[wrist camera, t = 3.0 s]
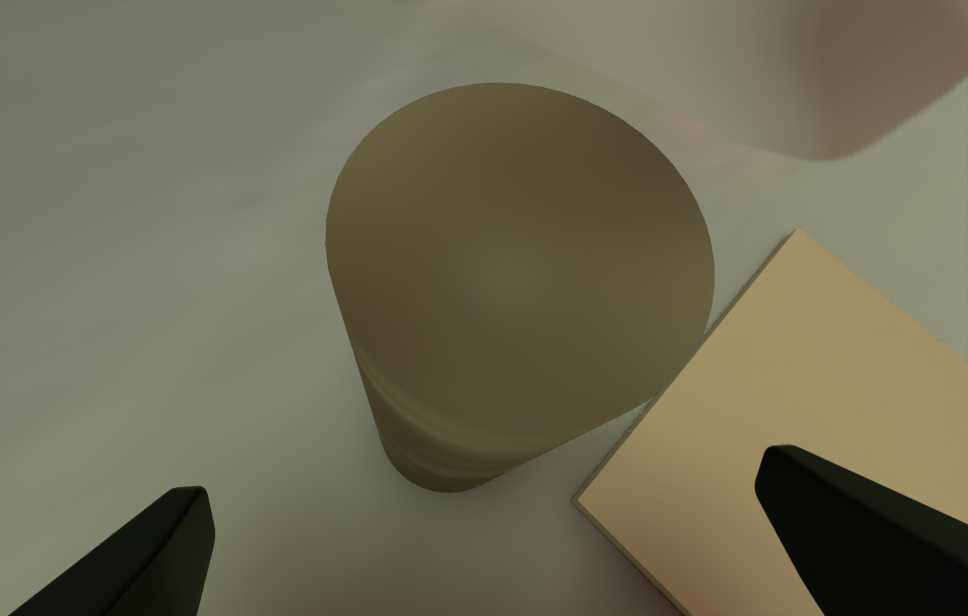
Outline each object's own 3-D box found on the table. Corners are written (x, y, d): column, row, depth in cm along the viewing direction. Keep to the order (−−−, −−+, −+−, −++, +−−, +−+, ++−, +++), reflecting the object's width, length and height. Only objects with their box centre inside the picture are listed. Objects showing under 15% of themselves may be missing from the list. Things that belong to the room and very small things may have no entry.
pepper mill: (545, 419, 19) (781, 246, 7) (448, 525, 17) (547, 536, 5) (450, 326, 20) (516, 32, 8) (348, 418, 18) (235, 215, 6)
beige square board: (1104, 492, 21) (1129, 491, 20) (973, 904, 15) (1002, 923, 14) (785, 236, 24) (797, 227, 23) (570, 500, 18) (577, 499, 17)
